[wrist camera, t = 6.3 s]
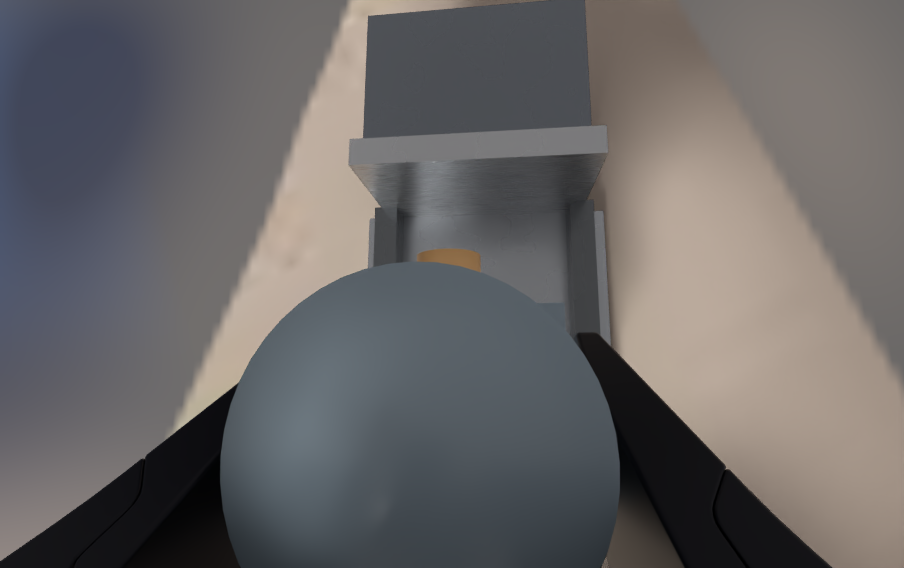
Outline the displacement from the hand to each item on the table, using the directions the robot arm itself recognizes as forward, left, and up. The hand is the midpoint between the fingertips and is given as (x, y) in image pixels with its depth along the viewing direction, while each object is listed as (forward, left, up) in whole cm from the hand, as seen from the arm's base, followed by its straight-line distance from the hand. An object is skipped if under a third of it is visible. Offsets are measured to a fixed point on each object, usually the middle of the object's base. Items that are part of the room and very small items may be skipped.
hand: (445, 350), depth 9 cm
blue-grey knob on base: (-1, 0, -7) cm, 7 cm away
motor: (+6, 0, -13) cm, 14 cm away
